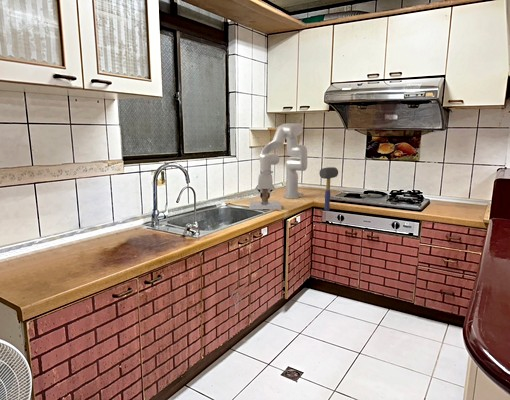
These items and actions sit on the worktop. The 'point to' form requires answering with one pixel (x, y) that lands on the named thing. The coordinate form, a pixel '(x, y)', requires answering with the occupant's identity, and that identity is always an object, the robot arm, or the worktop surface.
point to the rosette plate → (265, 205)
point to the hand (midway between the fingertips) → (265, 198)
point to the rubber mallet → (328, 183)
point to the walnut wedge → (264, 195)
